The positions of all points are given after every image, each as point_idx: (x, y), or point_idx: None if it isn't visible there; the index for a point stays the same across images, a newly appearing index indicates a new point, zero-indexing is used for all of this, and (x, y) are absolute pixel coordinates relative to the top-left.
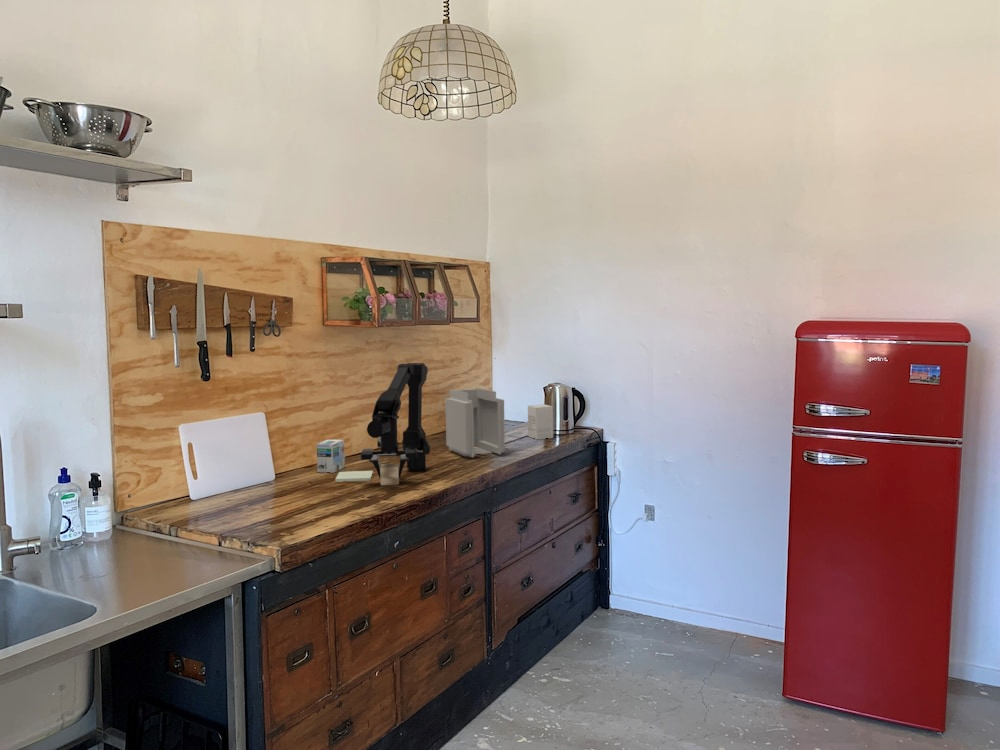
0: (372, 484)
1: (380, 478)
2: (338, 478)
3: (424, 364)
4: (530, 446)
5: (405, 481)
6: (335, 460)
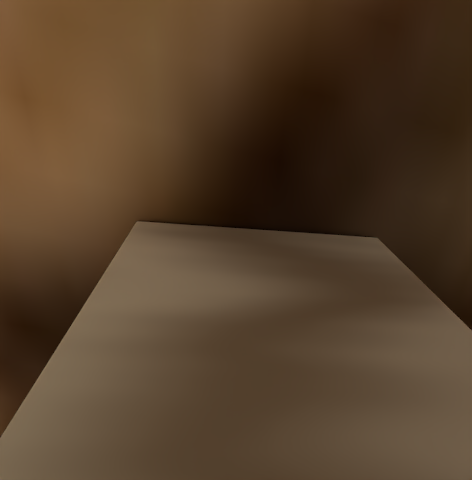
0: (37, 334)
1: None
2: None
3: None
4: None
5: (443, 269)
6: None
